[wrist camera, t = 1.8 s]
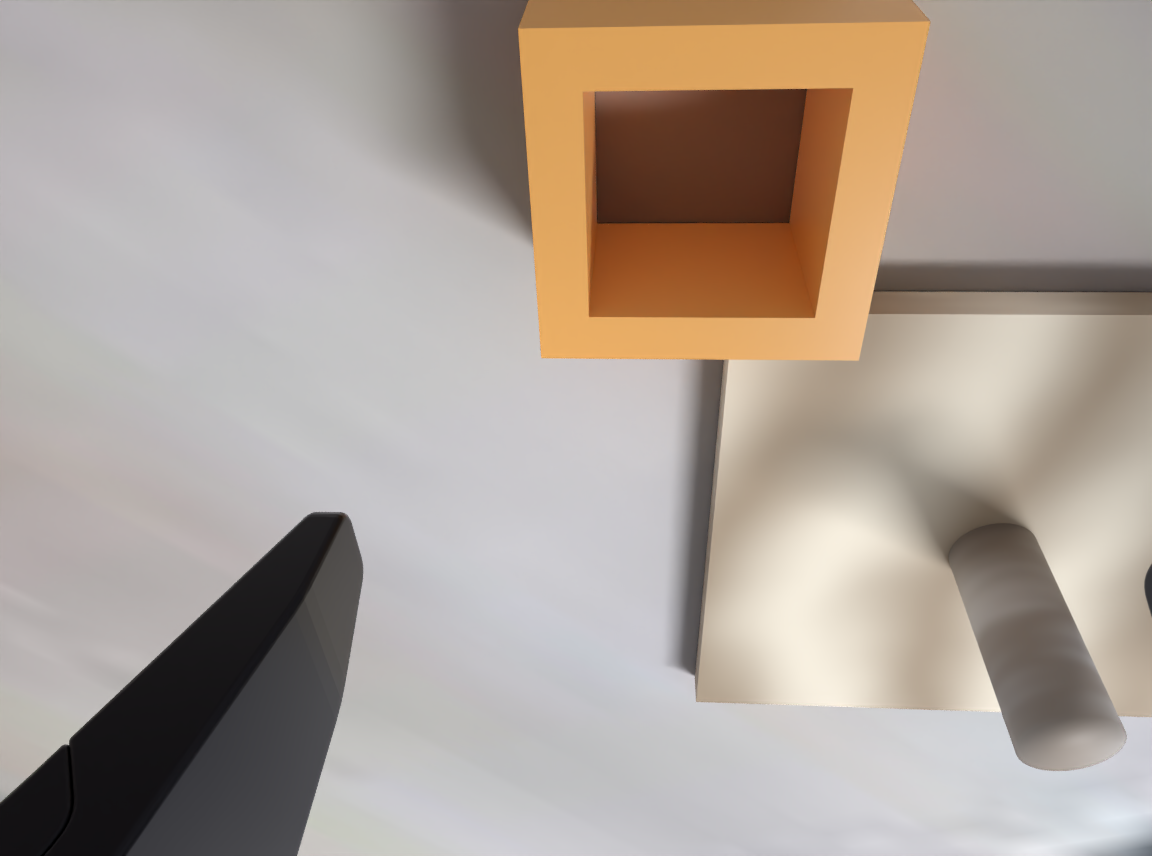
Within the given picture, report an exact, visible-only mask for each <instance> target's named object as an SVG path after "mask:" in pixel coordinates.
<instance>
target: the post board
mask: <svg viewBox="0 0 1152 856" xmlns="http://www.w3.org/2000/svg"><path fill="white" fill-rule="evenodd" d="M1151 564H1152V292H873V295H872V300H871V305H870V310H869V314H868V319H867V324H866V329H865V333H864V338H863V343H862V347H861V352H860V357H859V361H844V360H724V364H723V375H722V386H721V397H720V408H719V418H718V429H717V440H716V451H715V462H714V473H713V484H712V495H711V506H710V517H709V528H708V539H707V550H706V561H705V572H704V583H703V594H702V605H701V616H700V627H699V638H698V649H697V660H696V671H695V690H696V702H716V703H746V704H776V705H805V706H835V707H865V708H895V709H924V710H954V711H984V712H1002V715H1003V718H1004V721H1005V724H1006V726H1007V729H1008V732H1009V735H1010V738H1011V741H1012V744H1013V746H1014V749H1015V752H1016V755H1017V757H1018V758H1019V759H1020V760H1021V761H1022V762H1023V763H1025V764H1026V765H1028V766H1031V767H1034V768H1037V769H1041V770H1049V771H1068V770H1076V769H1081V768H1086V767H1090V766H1093V765H1096V764H1098V763H1101V762H1103V761H1105V760H1107V759H1109V758H1111V757H1112V756H1114V755H1115V754H1117V753H1118V752H1119V751H1120V750H1121V749H1122V747H1123V746H1124V744H1125V743H1126V739H1127V735H1126V731H1125V729H1124V727H1123V725H1122V723H1121V720H1120V718H1119V716H1133V717H1152V617H1151V614H1150V610H1149V607H1148V603H1147V600H1146V596H1145V590H1144V580H1145V576H1146V573H1147V571H1148V569H1149V567H1150V565H1151Z"/></svg>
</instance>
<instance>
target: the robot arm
mask: <svg viewBox="0 0 1152 856" xmlns="http://www.w3.org/2000/svg"><path fill="white" fill-rule="evenodd" d="M362 581H363V562H362V557H361V554H360V551H359V547H358V544H357V540H356V537H355V533H354V530H353V526H352V523H351V520H350V518H349V517H348V515H347V514H345V513H342V512H314V513H311V514H309V515H307V516H306V517H305V518H304V519H303V520H302V521H301V522H300V523H299V524H297V525H296V526H295V527H294V528H293V529H292V530H291V531H290V532H289V533H288V534H287V535H286V536H285V537H284V538H283V539H282V540H280V541H279V542H278V543H277V544H276V545H275V546H274V547H273V548H272V549H271V550H270V551H269V552H268V553H267V554H266V555H265V556H263V557H262V558H261V559H260V560H259V561H258V562H257V563H256V564H255V565H254V566H253V567H252V568H251V569H250V570H249V571H248V572H246V573H245V574H244V575H243V576H242V577H241V578H240V579H239V580H238V581H237V582H236V583H235V584H234V585H233V586H232V587H231V588H229V589H228V590H227V591H226V592H225V593H224V594H223V595H222V596H221V597H220V598H219V599H218V600H217V601H216V602H215V603H214V604H212V605H211V606H210V607H209V608H208V609H207V610H206V611H205V612H204V613H203V614H202V615H201V616H200V617H199V618H198V619H197V620H195V621H194V622H193V623H192V624H191V625H190V626H189V627H188V628H187V629H186V630H185V631H184V632H183V633H182V634H181V635H180V636H178V637H177V638H176V639H175V640H174V641H173V642H172V643H171V644H170V645H169V646H168V647H167V648H166V649H165V650H164V651H163V652H161V653H160V654H159V655H158V656H157V657H156V658H155V659H154V660H153V661H152V662H151V663H150V664H149V665H148V666H147V667H146V668H144V669H143V670H142V671H141V672H140V673H139V674H138V675H137V676H136V677H135V678H134V679H133V680H132V681H131V682H130V683H129V684H127V685H126V686H125V687H124V688H123V689H122V690H121V691H120V692H119V693H118V694H117V695H116V696H115V697H114V698H113V699H112V700H110V701H109V702H108V703H107V704H106V705H105V706H104V707H103V708H102V709H101V710H100V711H99V712H98V713H97V714H96V715H95V716H93V717H92V718H91V719H90V720H89V721H88V722H87V723H86V724H85V725H84V726H83V727H82V728H81V729H80V730H79V731H78V732H76V733H75V734H74V735H73V736H72V737H71V738H70V741H69V745H63V746H61V747H60V748H59V749H58V750H57V751H56V752H55V753H54V754H53V755H52V756H51V757H50V758H48V759H47V760H46V761H45V762H44V763H43V764H42V765H41V766H40V767H39V768H38V769H37V770H36V771H35V772H34V773H32V774H31V775H30V776H29V777H28V778H27V779H26V780H25V781H24V782H23V783H21V784H20V785H19V786H18V787H17V788H16V789H15V790H14V791H13V792H11V793H10V794H9V795H8V796H7V797H6V798H5V799H4V800H3V801H2V802H0V856H297V854H298V851H299V847H300V844H301V840H302V837H303V834H304V830H305V827H306V823H307V820H308V817H309V813H310V810H311V806H312V803H313V799H314V796H315V793H316V789H317V786H318V782H319V779H320V776H321V772H322V769H323V765H324V762H325V758H326V755H327V752H328V748H329V745H330V741H331V738H332V735H333V731H334V728H335V724H336V721H337V717H338V713H339V709H340V706H341V702H342V697H343V692H344V687H345V681H346V675H347V670H348V664H349V658H350V652H351V646H352V640H353V634H354V628H355V622H356V616H357V611H358V605H359V599H360V593H361V587H362ZM1144 590H1145V596H1146V600H1147V603H1148V607H1149V610H1150V614H1151V617H1152V564H1151V565H1150V567H1149V569H1148V571H1147V573H1146V576H1145V580H1144Z"/></svg>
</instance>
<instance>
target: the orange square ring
mask: <svg viewBox="0 0 1152 856" xmlns="http://www.w3.org/2000/svg"><path fill="white" fill-rule="evenodd" d="M929 26H930V20H929V19H928V18H927V17H926V16H925V15H924V13H923V12H922V11H921V10H920V9H919V8H918V6H917V5H916V4H915V3H914V2H913V1H912V0H529V1H528V3H527V6H526V9H525V11H524V14H523V17H522V19H521V22H520V25H519V27H518V35H519V50H520V64H521V78H522V92H523V106H524V120H525V134H526V148H527V162H528V176H529V190H530V204H531V219H532V233H533V247H534V261H535V275H536V289H537V303H538V317H539V331H540V345H541V358H586V359H715V360H844V361H859V357H860V352H861V347H862V343H863V338H864V333H865V329H866V324H867V319H868V314H869V310H870V305H871V300H872V295H873V291H874V286H875V281H876V277H877V272H878V267H879V262H880V258H881V253H882V248H883V243H884V239H885V234H886V229H887V225H888V220H889V215H890V210H891V206H892V201H893V196H894V191H895V187H896V182H897V177H898V173H899V168H900V163H901V158H902V154H903V149H904V144H905V139H906V135H907V130H908V125H909V120H910V116H911V111H912V106H913V102H914V97H915V92H916V87H917V83H918V78H919V73H920V68H921V64H922V59H923V54H924V50H925V45H926V40H927V35H928V31H929ZM743 89H807V93H806V101H805V108H804V116H803V123H802V131H801V138H800V146H799V153H798V161H797V168H796V176H795V183H794V191H793V198H792V206H791V213H790V221H789V223H597V186H596V134H595V91H664V90H743Z"/></svg>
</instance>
